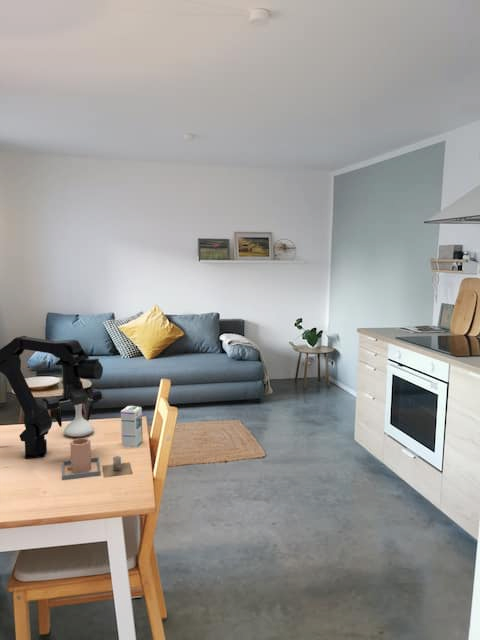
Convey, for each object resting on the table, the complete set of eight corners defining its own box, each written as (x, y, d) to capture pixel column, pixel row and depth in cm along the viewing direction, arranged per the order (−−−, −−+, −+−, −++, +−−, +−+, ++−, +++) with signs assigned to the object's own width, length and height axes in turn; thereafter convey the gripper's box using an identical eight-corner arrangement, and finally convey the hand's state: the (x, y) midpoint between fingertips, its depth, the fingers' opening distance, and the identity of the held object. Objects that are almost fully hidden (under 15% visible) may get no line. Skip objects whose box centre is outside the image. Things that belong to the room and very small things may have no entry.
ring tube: (93, 468, 165) (92, 438, 164) (86, 475, 159) (85, 445, 158) (72, 466, 166) (71, 437, 164) (64, 474, 160) (63, 444, 159)
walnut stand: (103, 480, 158) (103, 465, 157) (102, 468, 166) (101, 454, 165) (133, 476, 160) (132, 461, 160) (130, 465, 169) (129, 450, 168)
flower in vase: (86, 426, 204) (84, 366, 201) (99, 434, 196) (98, 371, 192) (54, 434, 195) (52, 371, 192) (67, 442, 187) (64, 377, 184)
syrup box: (136, 450, 181) (136, 411, 179) (121, 448, 182) (120, 410, 180) (142, 444, 187) (142, 406, 185) (127, 442, 188) (127, 405, 186)
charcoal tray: (62, 483, 156) (62, 476, 155) (63, 467, 166) (62, 461, 166) (100, 478, 159) (100, 471, 159) (98, 463, 170) (98, 457, 169)
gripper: (51, 387, 157) (54, 436, 159) (108, 377, 168) (110, 423, 170) (39, 381, 165) (43, 427, 167) (94, 372, 177) (97, 415, 179)
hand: (74, 423), depth 171 cm, fingers open, 9 cm apart
